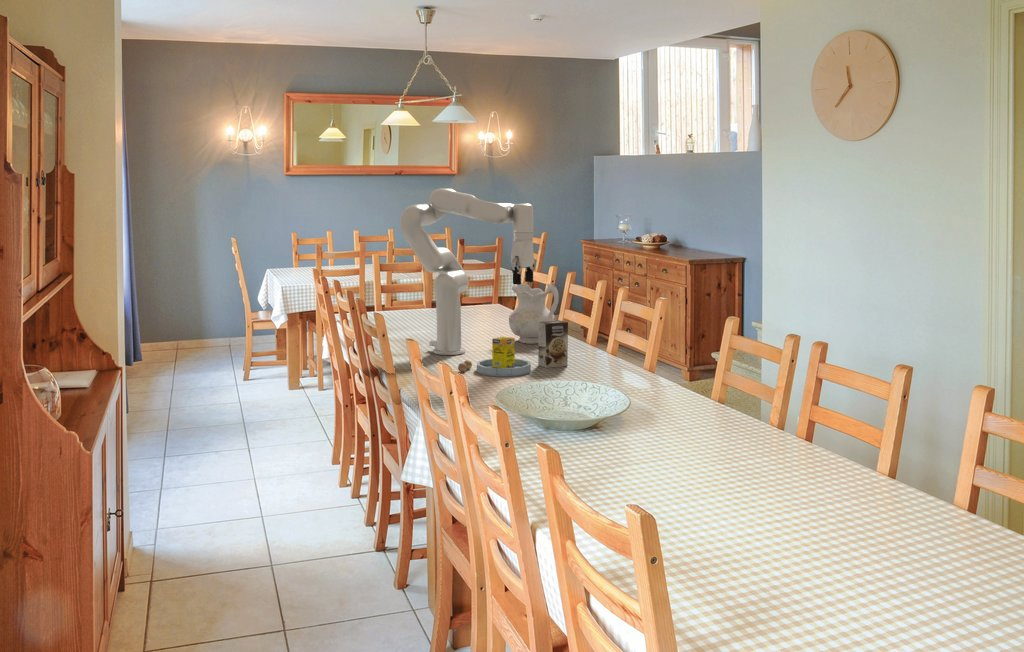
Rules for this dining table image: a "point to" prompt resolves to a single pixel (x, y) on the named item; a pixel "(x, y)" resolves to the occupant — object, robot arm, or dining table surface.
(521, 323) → the ceramic pitcher
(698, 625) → the dining table surface
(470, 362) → the bead
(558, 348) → the coffee box
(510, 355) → the supplement box
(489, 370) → the tray
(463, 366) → the bead
